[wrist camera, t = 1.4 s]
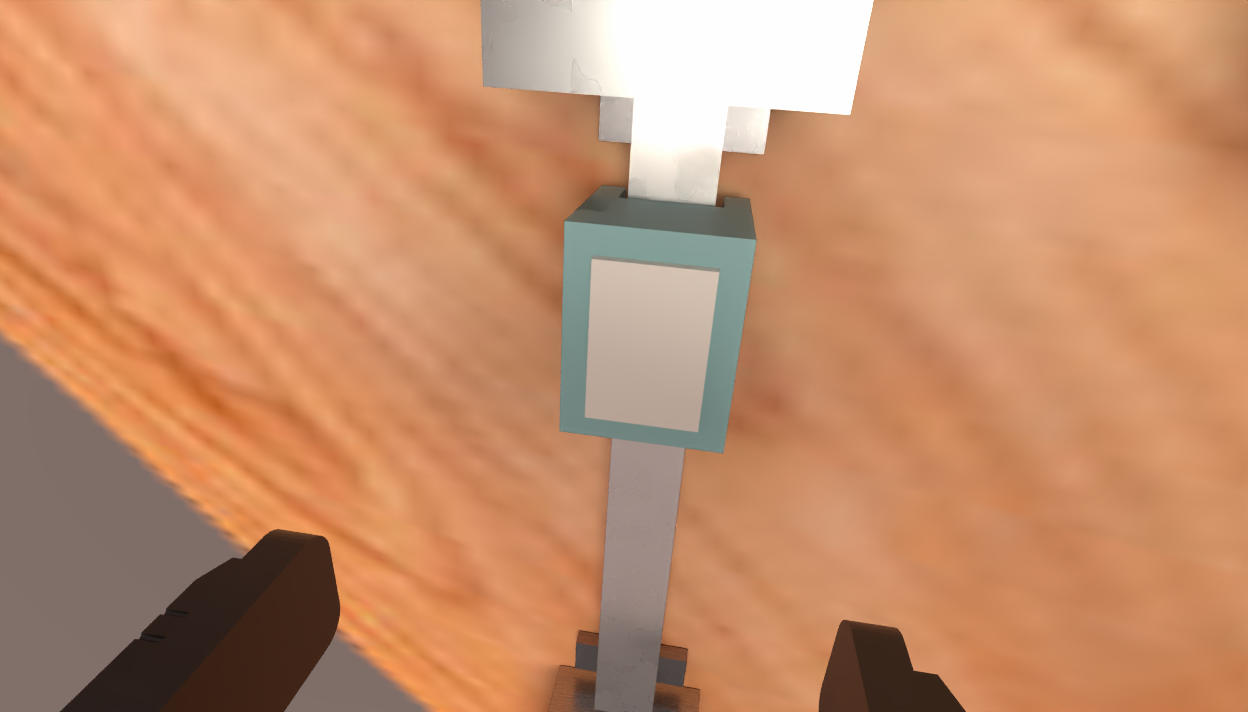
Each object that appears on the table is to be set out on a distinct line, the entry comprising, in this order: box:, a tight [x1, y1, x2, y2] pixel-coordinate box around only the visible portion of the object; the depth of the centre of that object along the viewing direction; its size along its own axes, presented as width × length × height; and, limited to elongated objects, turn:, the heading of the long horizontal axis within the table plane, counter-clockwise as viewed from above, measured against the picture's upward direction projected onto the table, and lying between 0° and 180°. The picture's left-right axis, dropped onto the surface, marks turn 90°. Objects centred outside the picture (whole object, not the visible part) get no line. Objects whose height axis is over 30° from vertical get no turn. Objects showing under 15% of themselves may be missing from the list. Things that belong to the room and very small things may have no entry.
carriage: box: [560, 185, 757, 453], centre depth 22 cm, size 5×7×6 cm
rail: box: [575, 96, 771, 712], centre depth 28 cm, size 6×30×3 cm, turn 176°
